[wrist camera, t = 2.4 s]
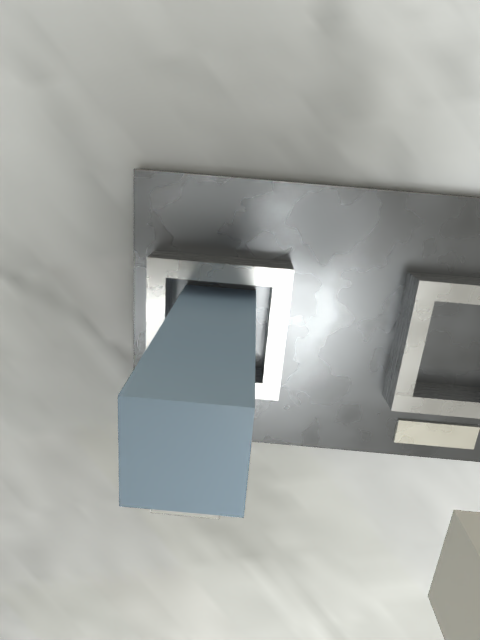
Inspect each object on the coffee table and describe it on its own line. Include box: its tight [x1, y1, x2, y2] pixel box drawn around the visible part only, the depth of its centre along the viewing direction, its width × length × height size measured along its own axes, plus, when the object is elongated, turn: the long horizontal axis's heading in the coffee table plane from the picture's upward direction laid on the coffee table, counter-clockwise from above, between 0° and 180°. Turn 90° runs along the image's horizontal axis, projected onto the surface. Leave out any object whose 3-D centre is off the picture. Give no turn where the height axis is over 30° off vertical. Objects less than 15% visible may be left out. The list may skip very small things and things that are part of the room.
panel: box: [134, 169, 480, 462], centre depth 25 cm, size 24×16×3 cm, turn 85°
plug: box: [118, 285, 256, 519], centre depth 20 cm, size 4×5×13 cm
